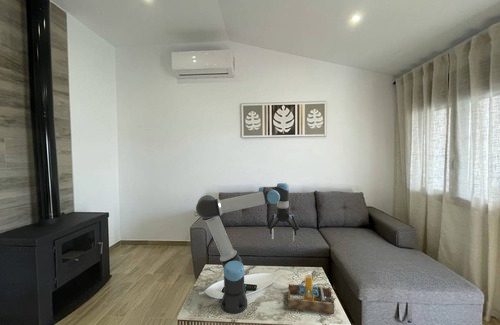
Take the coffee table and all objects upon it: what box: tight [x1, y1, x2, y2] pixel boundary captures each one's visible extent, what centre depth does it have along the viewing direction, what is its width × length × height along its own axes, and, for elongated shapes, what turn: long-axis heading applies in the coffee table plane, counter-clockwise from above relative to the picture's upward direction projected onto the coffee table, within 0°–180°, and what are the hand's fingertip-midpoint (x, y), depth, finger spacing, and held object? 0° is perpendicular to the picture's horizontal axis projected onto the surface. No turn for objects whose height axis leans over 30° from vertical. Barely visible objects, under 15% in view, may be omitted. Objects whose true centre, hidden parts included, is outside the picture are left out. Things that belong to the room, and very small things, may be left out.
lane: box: [287, 283, 335, 314], centre depth 136 cm, size 25×16×6 cm, turn 79°
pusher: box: [319, 286, 336, 302], centre depth 134 cm, size 8×13×6 cm, turn 169°
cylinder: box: [299, 274, 320, 301], centre depth 136 cm, size 12×10×15 cm
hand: (283, 239), depth 150 cm, fingers open, 13 cm apart
